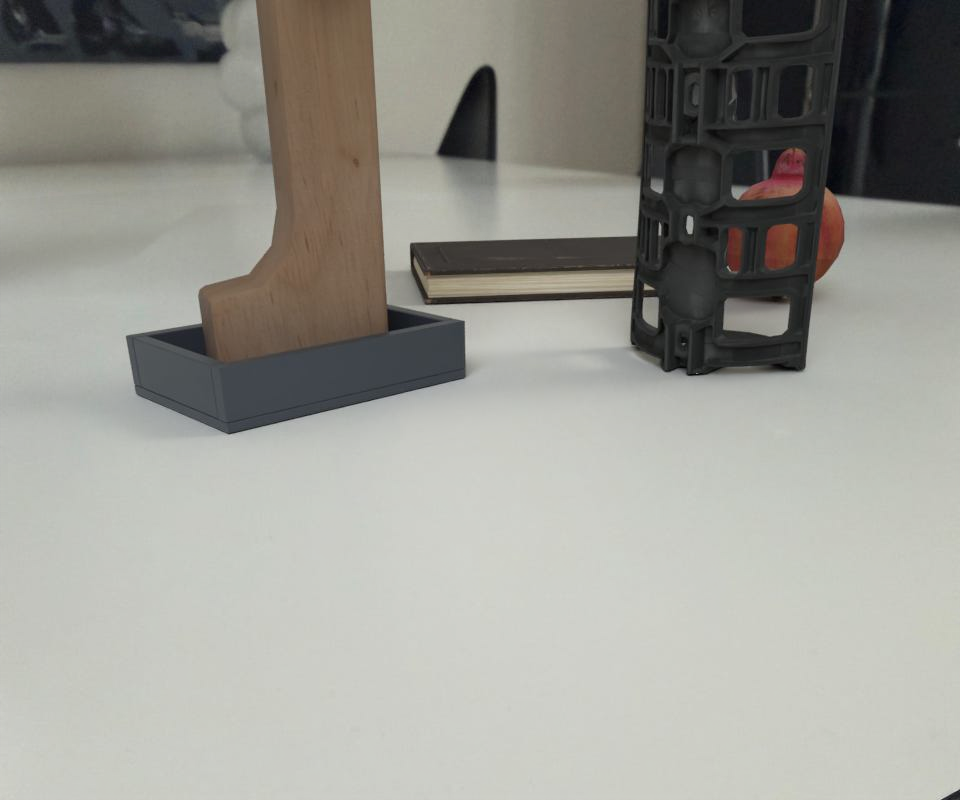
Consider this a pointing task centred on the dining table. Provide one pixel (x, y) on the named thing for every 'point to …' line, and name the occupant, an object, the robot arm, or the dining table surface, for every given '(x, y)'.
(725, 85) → the holder
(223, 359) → the wooden block
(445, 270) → the hardcover book
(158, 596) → the dining table surface
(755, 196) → the fruit
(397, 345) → the tray
